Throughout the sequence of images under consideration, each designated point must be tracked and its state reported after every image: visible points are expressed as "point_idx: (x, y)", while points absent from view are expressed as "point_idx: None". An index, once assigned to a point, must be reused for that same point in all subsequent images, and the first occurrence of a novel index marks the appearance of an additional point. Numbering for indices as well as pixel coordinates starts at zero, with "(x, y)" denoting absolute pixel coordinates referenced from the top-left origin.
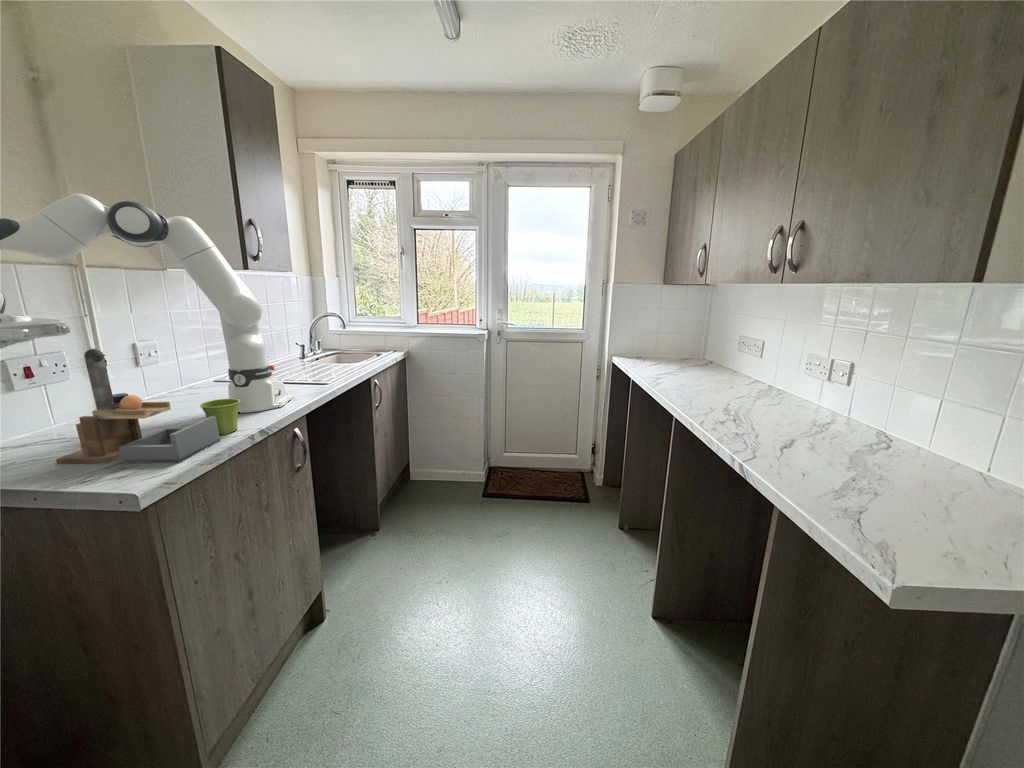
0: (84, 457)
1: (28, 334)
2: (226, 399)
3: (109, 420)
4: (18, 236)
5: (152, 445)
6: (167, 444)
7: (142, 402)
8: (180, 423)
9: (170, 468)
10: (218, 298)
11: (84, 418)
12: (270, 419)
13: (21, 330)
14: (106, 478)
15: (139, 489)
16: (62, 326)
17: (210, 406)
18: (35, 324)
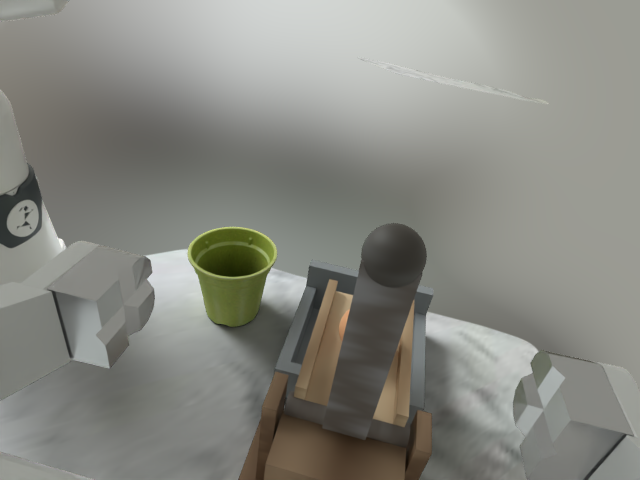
0: None
1: (525, 382)
2: (192, 248)
3: None
4: None
5: (417, 347)
6: None
7: (319, 329)
8: (56, 433)
9: (444, 337)
10: None
11: (430, 439)
12: (173, 254)
13: (607, 366)
14: (494, 421)
15: (528, 348)
16: (139, 256)
17: (207, 279)
18: (74, 477)
